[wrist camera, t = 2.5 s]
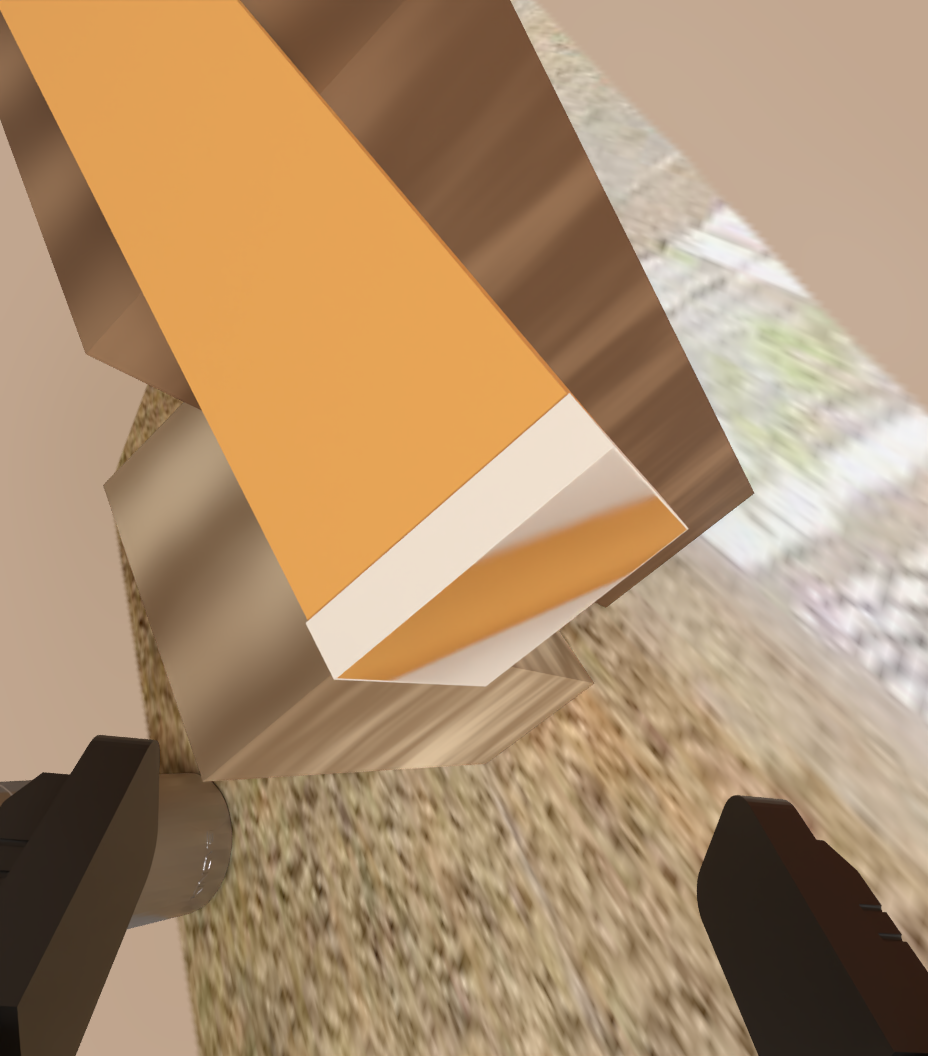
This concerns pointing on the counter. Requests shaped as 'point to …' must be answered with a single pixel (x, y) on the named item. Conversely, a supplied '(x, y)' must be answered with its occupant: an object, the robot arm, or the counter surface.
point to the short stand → (287, 640)
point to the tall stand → (436, 223)
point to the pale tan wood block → (339, 350)
